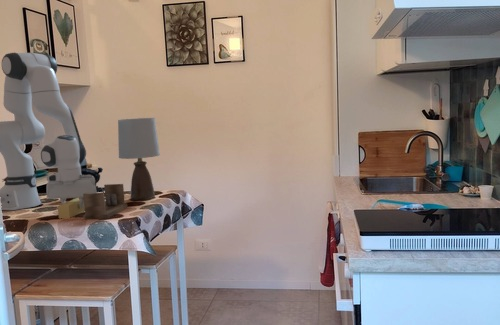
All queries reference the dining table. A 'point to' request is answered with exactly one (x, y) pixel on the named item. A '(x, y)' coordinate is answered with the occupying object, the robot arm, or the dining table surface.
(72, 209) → the plank
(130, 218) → the dining table surface
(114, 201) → the brown u-shaped block
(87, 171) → the vintage camera
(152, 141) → the lamp
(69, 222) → the dining table surface
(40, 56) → the robot arm
